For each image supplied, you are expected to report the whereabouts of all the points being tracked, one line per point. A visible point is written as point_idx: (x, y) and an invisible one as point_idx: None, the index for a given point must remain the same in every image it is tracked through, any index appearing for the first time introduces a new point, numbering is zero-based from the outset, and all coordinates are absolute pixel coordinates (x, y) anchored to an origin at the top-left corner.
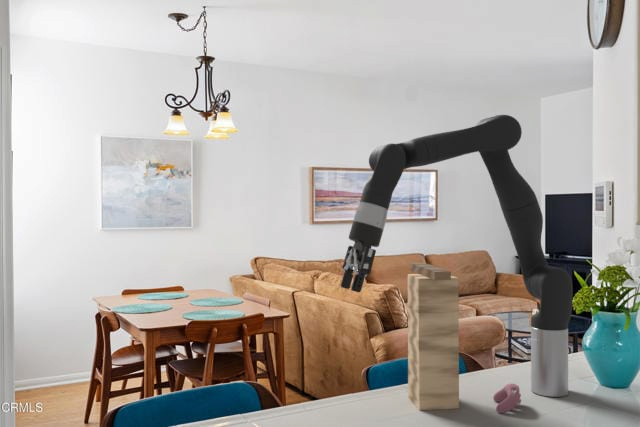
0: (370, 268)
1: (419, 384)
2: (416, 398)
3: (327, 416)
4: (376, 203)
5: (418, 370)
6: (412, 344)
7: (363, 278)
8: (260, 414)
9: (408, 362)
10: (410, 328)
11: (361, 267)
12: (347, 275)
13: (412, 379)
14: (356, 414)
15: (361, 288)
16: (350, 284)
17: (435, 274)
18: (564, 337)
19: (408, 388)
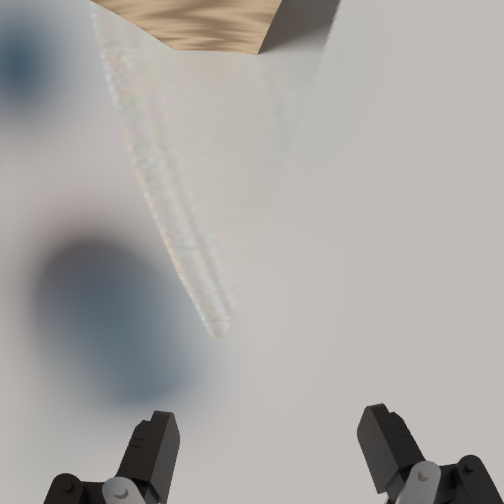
0: (487, 479)
1: (261, 44)
2: (236, 49)
3: (240, 223)
4: None
5: (257, 37)
6: (186, 17)
7: (422, 457)
8: (208, 305)
9: (155, 34)
10: (147, 3)
11: (454, 499)
12: (162, 485)
13: (200, 41)
14: (244, 173)
15: (390, 415)
16: (165, 430)
17: None
18: None
19: (171, 46)
